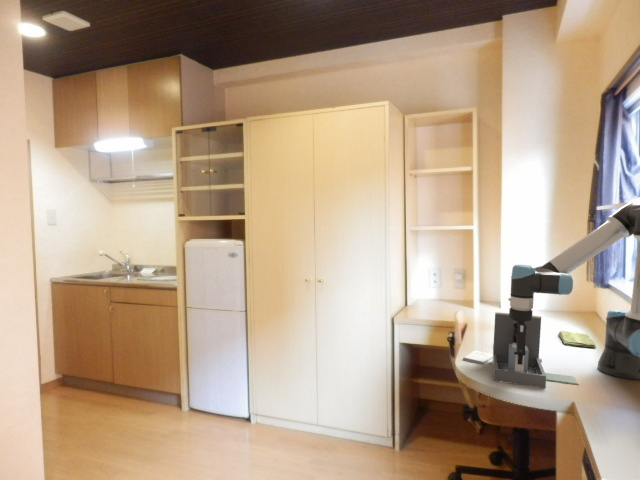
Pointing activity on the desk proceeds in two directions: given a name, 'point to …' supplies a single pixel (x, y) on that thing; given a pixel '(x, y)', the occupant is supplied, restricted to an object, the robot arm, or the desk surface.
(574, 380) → the mat
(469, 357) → the external hard drive
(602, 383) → the desk surface
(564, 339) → the washcloth
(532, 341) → the case
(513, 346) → the block
